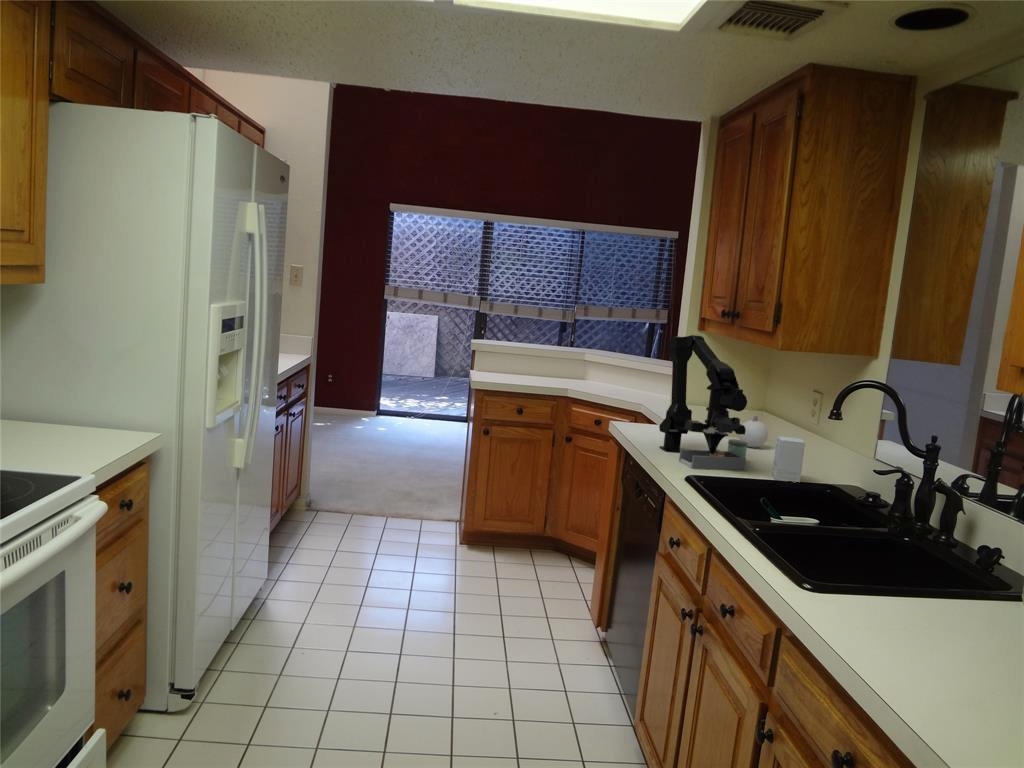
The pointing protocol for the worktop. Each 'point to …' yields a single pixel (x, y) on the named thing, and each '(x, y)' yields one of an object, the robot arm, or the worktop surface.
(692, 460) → the gray tray
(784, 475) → the supplement box
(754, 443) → the ornament
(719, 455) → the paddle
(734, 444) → the jar
